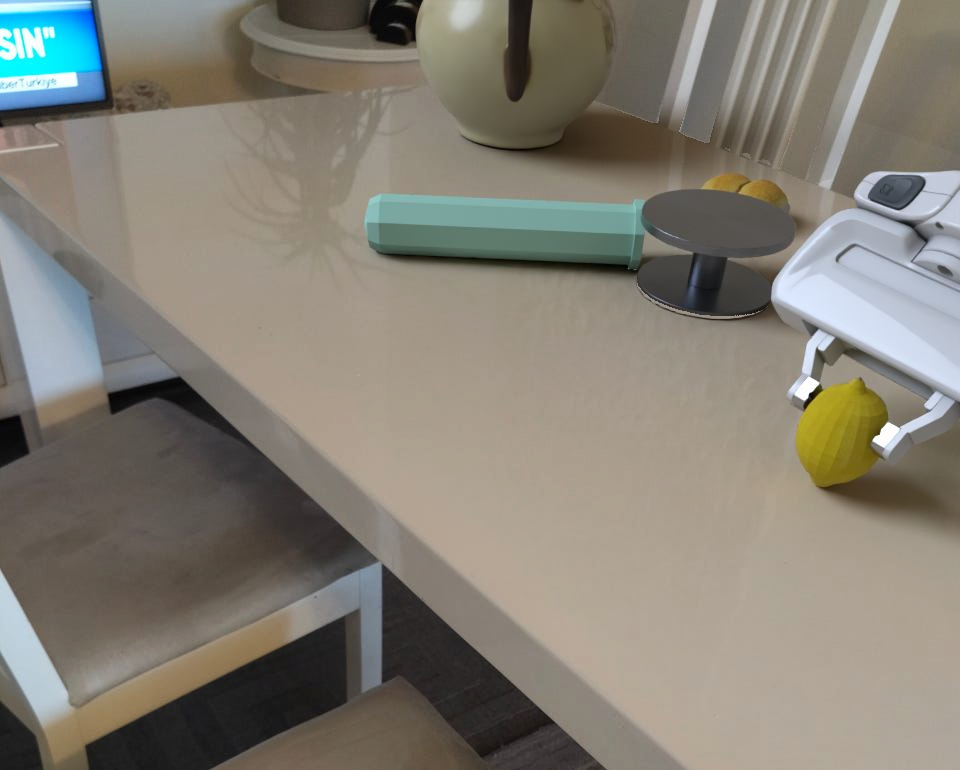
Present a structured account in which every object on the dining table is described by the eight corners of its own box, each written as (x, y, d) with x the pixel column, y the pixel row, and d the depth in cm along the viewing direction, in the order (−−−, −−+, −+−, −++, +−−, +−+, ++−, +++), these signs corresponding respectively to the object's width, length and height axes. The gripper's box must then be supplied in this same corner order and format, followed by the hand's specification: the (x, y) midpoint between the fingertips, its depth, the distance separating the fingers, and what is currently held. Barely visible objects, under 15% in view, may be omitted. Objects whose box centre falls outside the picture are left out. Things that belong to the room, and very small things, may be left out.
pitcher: (520, 95, 126) (538, -152, 109) (651, 148, 114) (695, -121, 96) (378, 122, 116) (372, -147, 98) (505, 184, 103) (524, -112, 86)
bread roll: (718, 196, 104) (727, 156, 101) (795, 220, 100) (806, 179, 97) (678, 216, 99) (685, 175, 96) (756, 242, 95) (766, 200, 92)
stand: (795, 282, 89) (815, 211, 84) (748, 337, 81) (767, 262, 76) (664, 247, 93) (676, 178, 89) (606, 295, 85) (616, 222, 81)
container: (359, 184, 84) (648, 197, 84) (368, 189, 90) (639, 201, 90) (359, 257, 86) (641, 270, 86) (368, 257, 92) (633, 269, 92)
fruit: (877, 509, 64) (922, 401, 58) (795, 508, 63) (832, 399, 58) (850, 461, 68) (889, 356, 62) (772, 460, 67) (805, 354, 62)
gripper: (1152, 343, 56) (984, 532, 59) (869, 221, 68) (739, 383, 70) (1154, 285, 51) (969, 494, 54) (848, 164, 63) (708, 340, 65)
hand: (836, 430), depth 62 cm, fingers closed on fruit, 5 cm apart
